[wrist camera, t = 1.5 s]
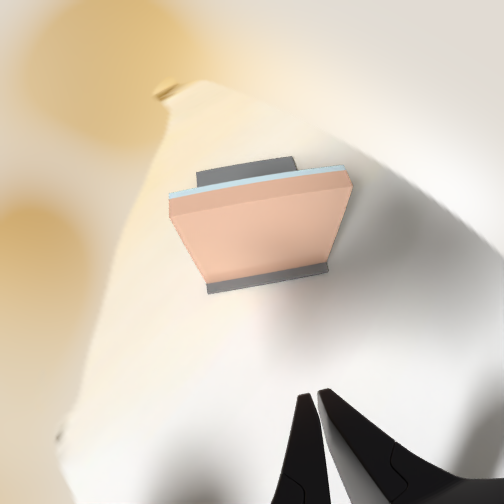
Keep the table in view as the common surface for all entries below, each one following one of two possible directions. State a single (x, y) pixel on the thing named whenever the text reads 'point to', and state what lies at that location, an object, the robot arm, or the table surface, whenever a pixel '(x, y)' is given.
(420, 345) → the table surface
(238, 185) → the tile
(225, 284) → the mat
